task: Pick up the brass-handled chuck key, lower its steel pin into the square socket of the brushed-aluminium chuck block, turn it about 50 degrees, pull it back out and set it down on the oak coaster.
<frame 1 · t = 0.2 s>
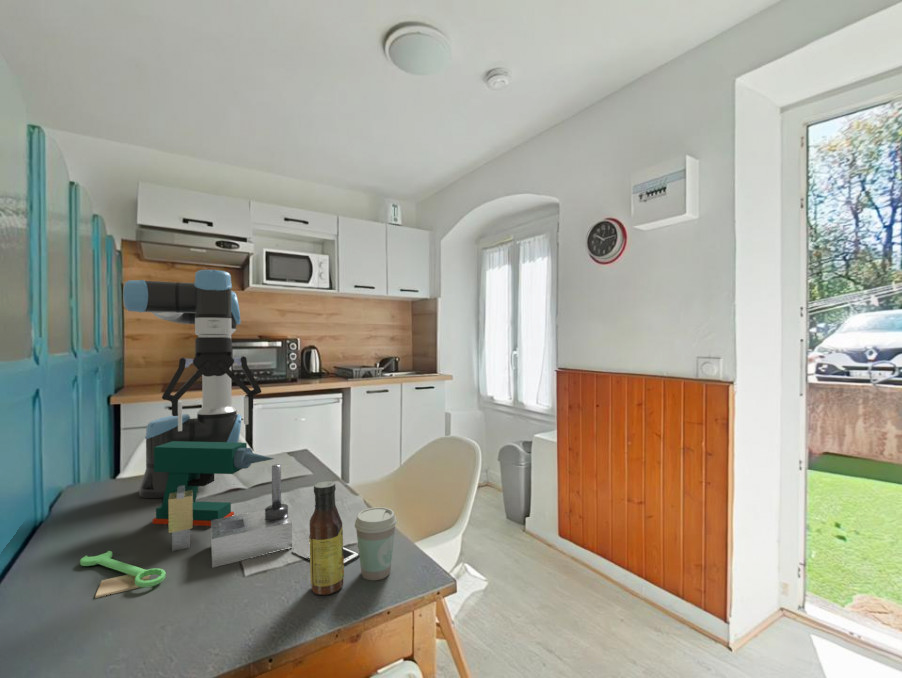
hand: (214, 426, 101), 27 cm above the table, fingers open, 13 cm apart
sauce bottle: (326, 588, 83), on the table
coffee cup: (376, 573, 88), on the table
wrench: (121, 572, 88), on the table, touching key mat
power tool: (218, 520, 114), on the table
cell phone: (325, 556, 95), on the table
chuck block: (251, 547, 99), on the table
key mat: (124, 583, 84), on the table
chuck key: (181, 546, 100), on the table
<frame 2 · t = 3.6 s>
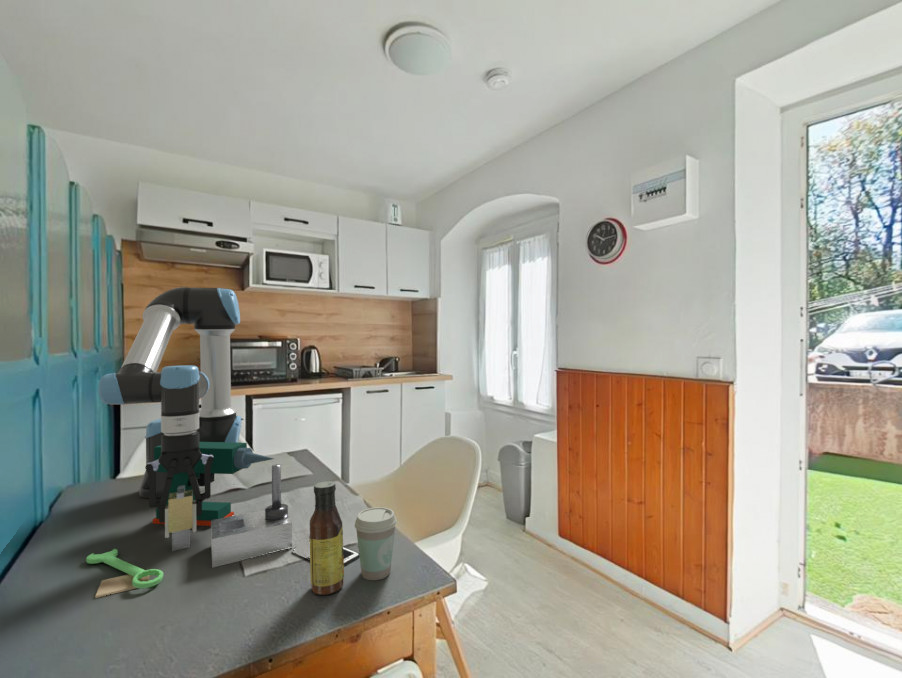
hand: (181, 532, 100), 3 cm above the table, fingers closed on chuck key, 5 cm apart
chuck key: (181, 546, 100), on the table, touching gripper
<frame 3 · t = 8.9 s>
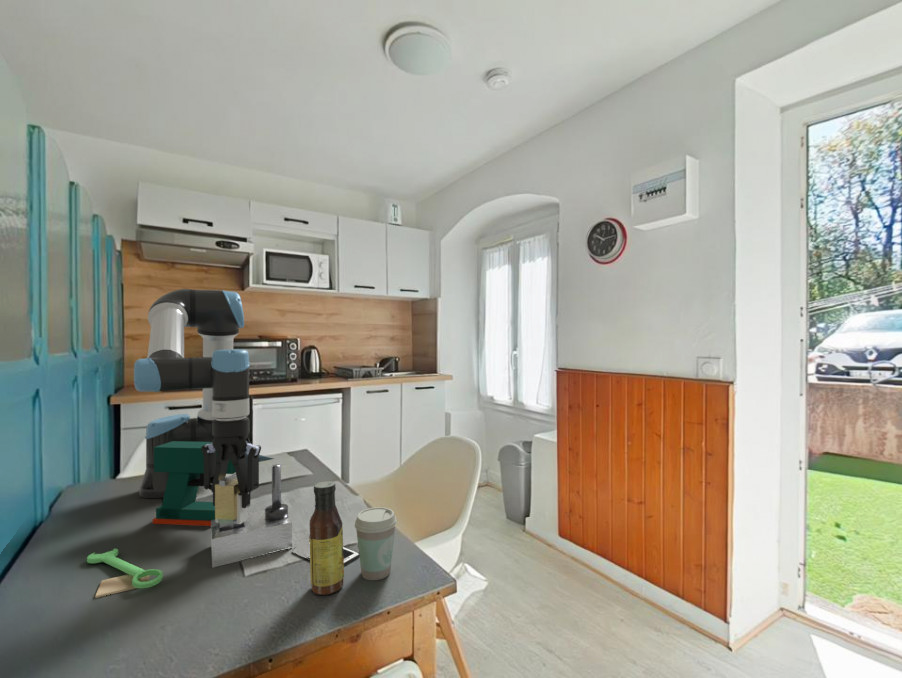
hand: (231, 520, 97), 7 cm above the table, fingers closed on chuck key, 5 cm apart
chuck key: (231, 534, 97), point 4 cm above the table, touching gripper
everything else where it was.
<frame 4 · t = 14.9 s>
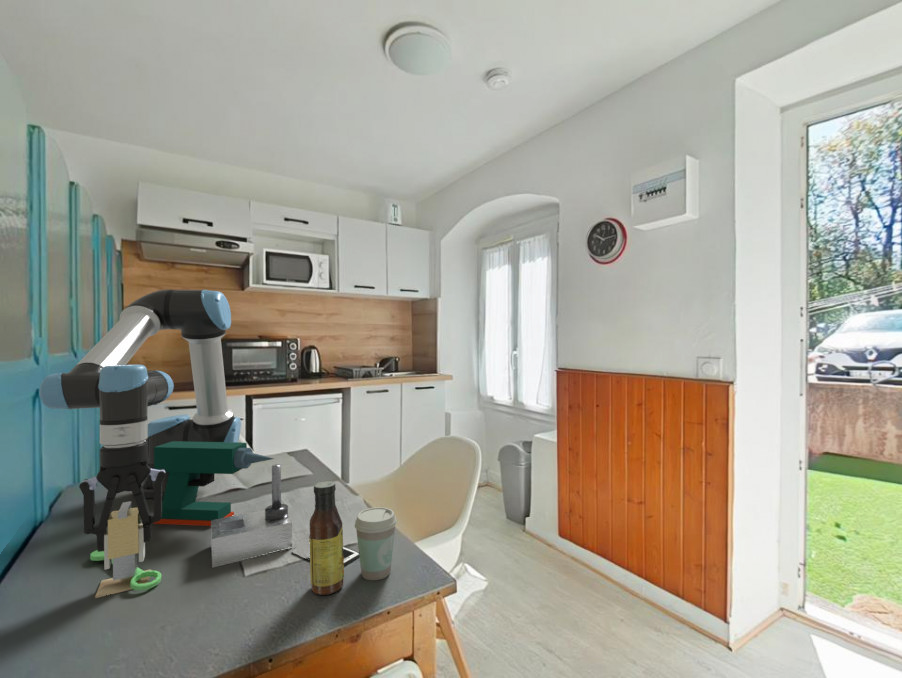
hand: (125, 562, 84), 4 cm above the table, fingers closed on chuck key, 5 cm apart
wrench: (124, 570, 89), on the table, touching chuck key, key mat
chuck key: (125, 573, 84), point 2 cm above the table, touching gripper, wrench
everything else where it was.
when the fingers open (4 cm above the table, at t = 15.1 s): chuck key stays where it is, resting on wrench.
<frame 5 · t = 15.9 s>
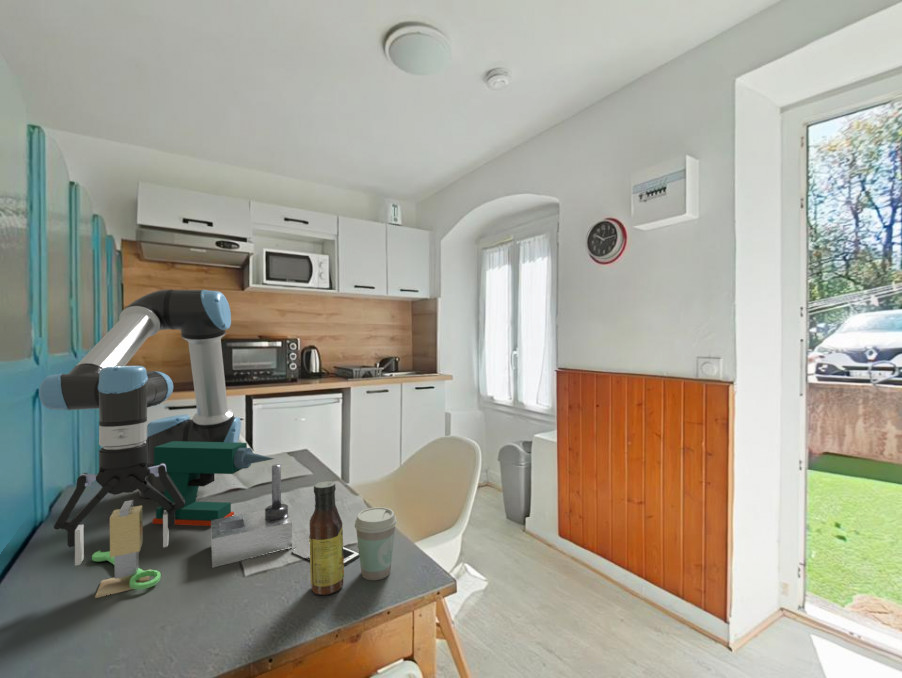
hand: (124, 552, 84), 6 cm above the table, fingers open, 13 cm apart
wrench: (125, 570, 89), on the table, touching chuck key, key mat
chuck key: (127, 572, 84), point 2 cm above the table, touching wrench
everything else where it was.
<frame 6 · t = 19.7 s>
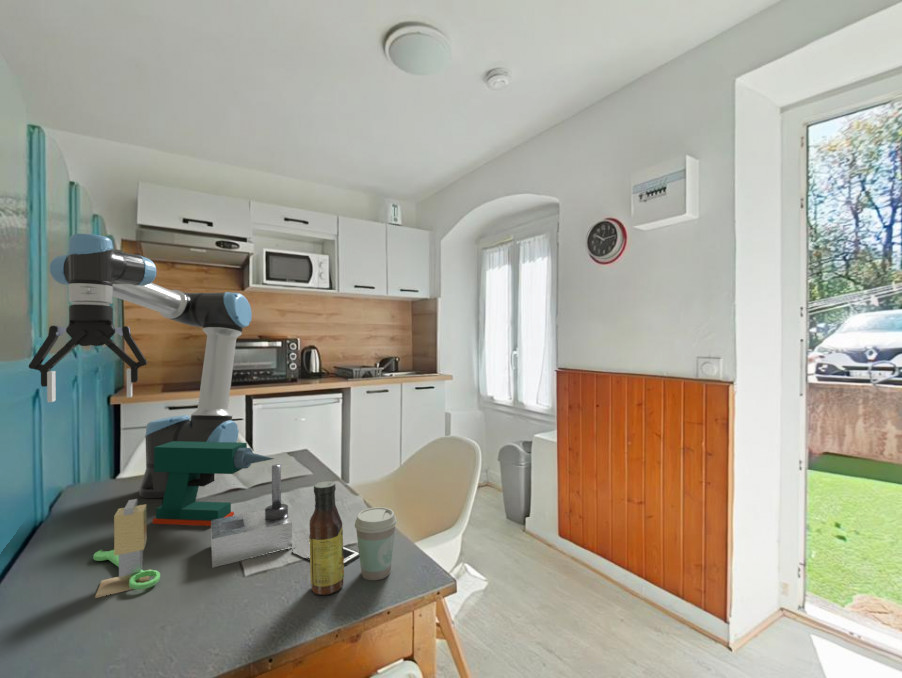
hand: (91, 399, 96), 35 cm above the table, fingers open, 13 cm apart
nothing on the table moved.
at the end: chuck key inside the target area on the key mat (1.1 cm from its centre), point 2.1 cm above the key mat's base; the gripper is holding nothing; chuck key moved 14.6 cm from its start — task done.
